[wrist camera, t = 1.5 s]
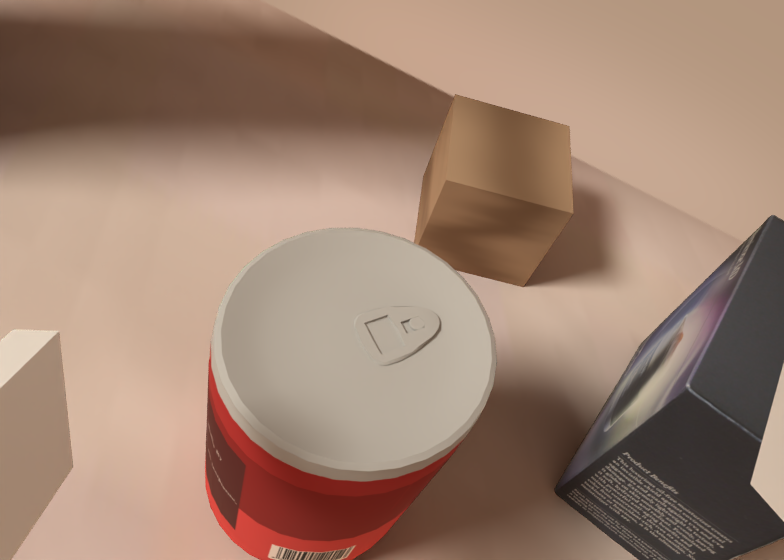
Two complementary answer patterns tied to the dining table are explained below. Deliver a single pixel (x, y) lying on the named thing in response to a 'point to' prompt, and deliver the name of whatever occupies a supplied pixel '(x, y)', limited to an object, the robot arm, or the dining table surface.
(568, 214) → the walnut block
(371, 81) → the dining table surface
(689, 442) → the small box
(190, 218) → the dining table surface
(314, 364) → the canned food
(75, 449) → the dining table surface
